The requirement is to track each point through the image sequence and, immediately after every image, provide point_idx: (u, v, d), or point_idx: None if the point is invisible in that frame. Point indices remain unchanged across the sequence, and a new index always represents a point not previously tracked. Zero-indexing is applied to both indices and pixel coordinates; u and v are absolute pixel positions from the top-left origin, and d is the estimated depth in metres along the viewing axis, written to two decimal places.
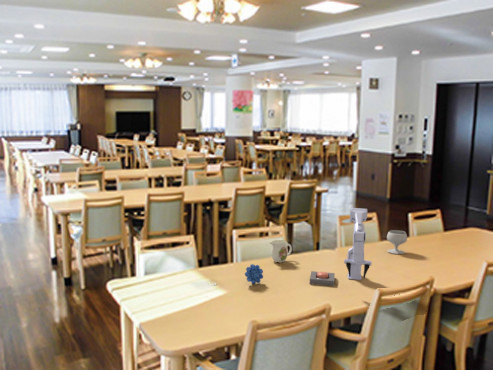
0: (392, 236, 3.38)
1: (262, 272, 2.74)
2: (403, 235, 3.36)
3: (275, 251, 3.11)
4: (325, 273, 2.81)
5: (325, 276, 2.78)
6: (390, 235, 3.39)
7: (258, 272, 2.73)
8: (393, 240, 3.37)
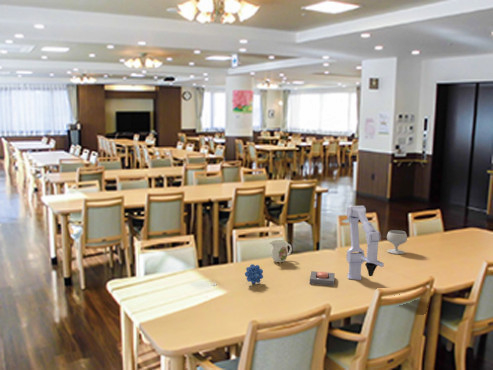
0: (392, 236, 3.38)
1: (262, 272, 2.74)
2: (403, 235, 3.36)
3: (275, 251, 3.11)
4: (325, 273, 2.81)
5: (325, 276, 2.78)
6: (390, 235, 3.39)
7: (258, 272, 2.73)
8: (393, 240, 3.37)
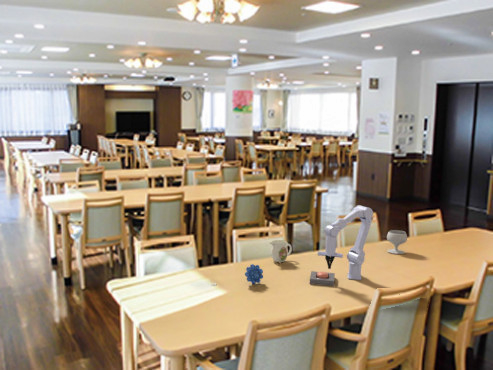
0: (392, 236, 3.38)
1: (262, 272, 2.74)
2: (403, 235, 3.36)
3: (275, 251, 3.11)
4: (325, 273, 2.81)
5: (325, 276, 2.78)
6: (390, 235, 3.39)
7: (258, 272, 2.73)
8: (393, 240, 3.37)
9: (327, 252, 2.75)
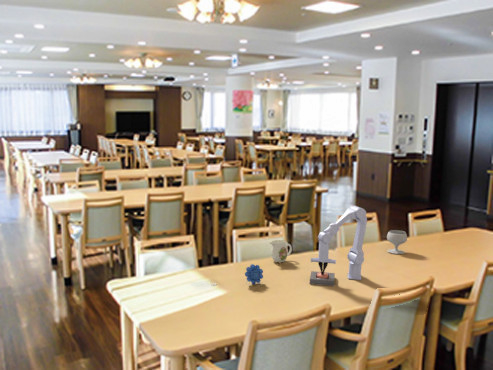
0: (392, 236, 3.38)
1: (262, 272, 2.74)
2: (403, 235, 3.36)
3: (275, 251, 3.11)
4: (325, 274, 2.81)
5: (325, 277, 2.78)
6: (390, 235, 3.39)
7: (258, 272, 2.73)
8: (393, 240, 3.37)
9: (320, 258, 2.78)
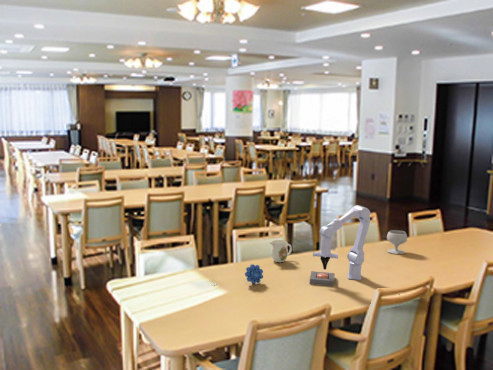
0: (392, 236, 3.38)
1: (262, 272, 2.74)
2: (403, 235, 3.36)
3: (275, 251, 3.11)
4: (325, 274, 2.82)
5: None
6: (390, 235, 3.39)
7: (258, 272, 2.73)
8: (393, 240, 3.37)
9: (322, 253, 2.77)
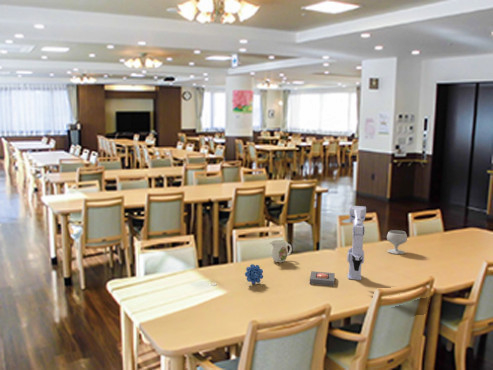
0: (392, 236, 3.38)
1: (262, 272, 2.74)
2: (403, 235, 3.36)
3: (275, 251, 3.11)
4: (325, 274, 2.82)
5: None
6: (390, 235, 3.39)
7: (258, 272, 2.73)
8: (393, 240, 3.37)
9: None
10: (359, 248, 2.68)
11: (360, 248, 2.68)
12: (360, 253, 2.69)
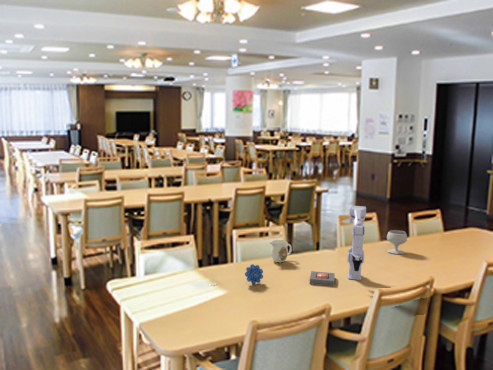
0: (392, 236, 3.38)
1: (262, 272, 2.74)
2: (403, 235, 3.36)
3: (275, 251, 3.11)
4: (325, 274, 2.82)
5: None
6: (390, 235, 3.39)
7: (258, 272, 2.73)
8: (393, 240, 3.37)
9: None
10: (359, 248, 2.68)
11: (360, 248, 2.68)
12: (360, 253, 2.69)
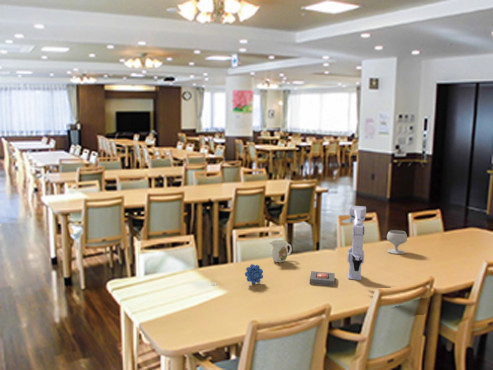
0: (392, 236, 3.38)
1: (262, 272, 2.74)
2: (403, 235, 3.36)
3: (275, 251, 3.11)
4: (325, 274, 2.82)
5: None
6: (390, 235, 3.39)
7: (258, 272, 2.73)
8: (393, 240, 3.37)
9: None
10: (359, 248, 2.68)
11: (360, 248, 2.68)
12: (360, 253, 2.69)
